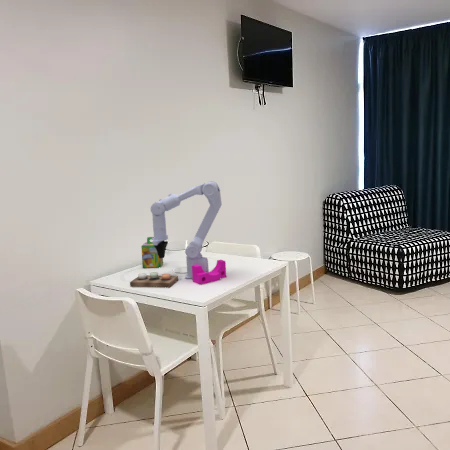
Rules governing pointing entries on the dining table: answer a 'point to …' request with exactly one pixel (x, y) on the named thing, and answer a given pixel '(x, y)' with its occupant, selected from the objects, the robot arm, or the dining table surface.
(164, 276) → the terracotta button
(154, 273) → the sage button
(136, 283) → the button panel
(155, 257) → the chalk box
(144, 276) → the grey button
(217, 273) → the toy block
